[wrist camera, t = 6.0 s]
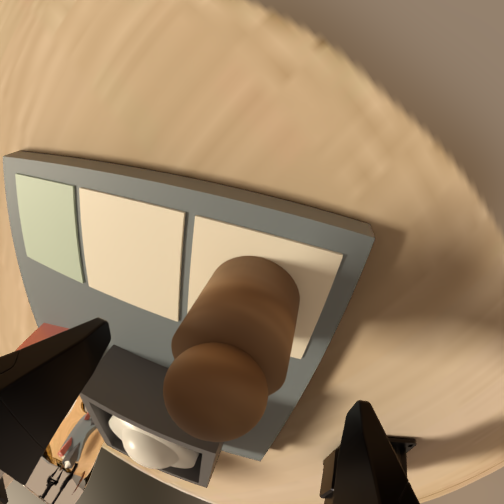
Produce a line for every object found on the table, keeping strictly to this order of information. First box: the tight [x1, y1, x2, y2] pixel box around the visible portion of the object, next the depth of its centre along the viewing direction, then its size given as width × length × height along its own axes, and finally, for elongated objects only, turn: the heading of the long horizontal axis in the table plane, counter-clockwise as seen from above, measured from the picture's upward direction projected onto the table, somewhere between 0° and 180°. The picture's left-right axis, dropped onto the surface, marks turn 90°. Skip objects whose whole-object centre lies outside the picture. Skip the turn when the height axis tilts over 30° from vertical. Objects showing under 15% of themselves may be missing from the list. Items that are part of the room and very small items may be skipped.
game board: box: [3, 151, 375, 488], centre depth 16 cm, size 22×22×6 cm
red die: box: [16, 323, 69, 351], centre depth 18 cm, size 4×4×4 cm
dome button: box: [109, 415, 199, 469], centre depth 16 cm, size 6×6×4 cm
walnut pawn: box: [163, 256, 300, 442], centre depth 10 cm, size 4×4×7 cm
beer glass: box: [23, 395, 104, 504], centre depth 21 cm, size 7×7×15 cm
